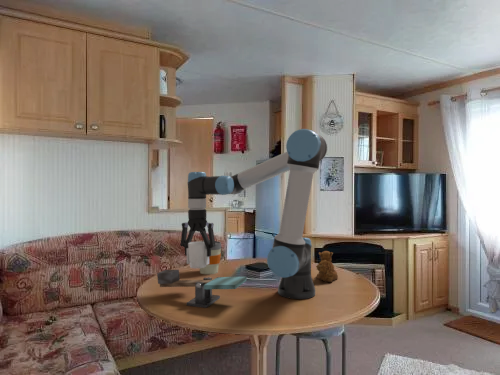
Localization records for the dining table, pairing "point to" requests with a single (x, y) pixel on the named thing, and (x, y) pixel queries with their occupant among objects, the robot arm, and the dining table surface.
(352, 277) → the dining table surface
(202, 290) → the beam stand
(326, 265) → the stuffed squirrel
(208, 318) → the dining table surface
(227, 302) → the dining table surface
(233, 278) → the balance beam
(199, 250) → the white cup
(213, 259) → the reusable coffee cup
